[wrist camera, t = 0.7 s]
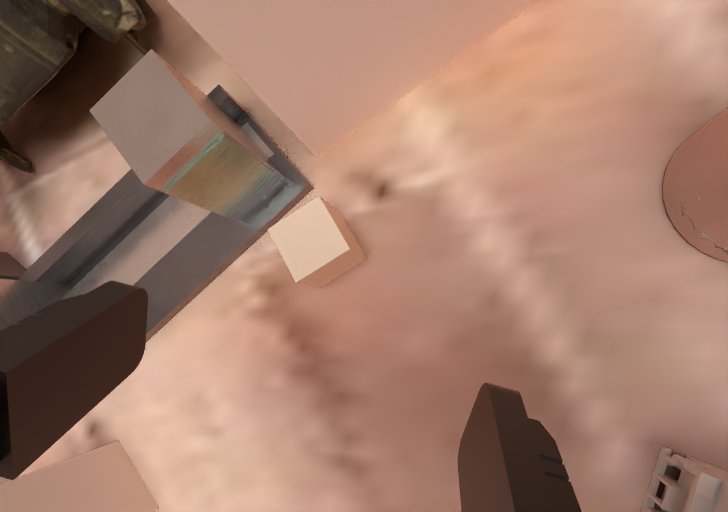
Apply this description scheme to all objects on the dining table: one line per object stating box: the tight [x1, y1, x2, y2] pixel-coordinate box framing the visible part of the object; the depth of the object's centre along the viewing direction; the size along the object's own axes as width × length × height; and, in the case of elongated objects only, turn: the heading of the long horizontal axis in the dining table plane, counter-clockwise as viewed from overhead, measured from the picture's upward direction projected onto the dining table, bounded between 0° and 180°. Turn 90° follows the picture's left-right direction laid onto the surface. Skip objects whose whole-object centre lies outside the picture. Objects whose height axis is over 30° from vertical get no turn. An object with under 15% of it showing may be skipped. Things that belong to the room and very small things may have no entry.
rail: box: [0, 49, 313, 341], centre depth 31 cm, size 26×9×11 cm, turn 130°
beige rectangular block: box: [267, 196, 367, 287], centre depth 31 cm, size 4×4×5 cm
